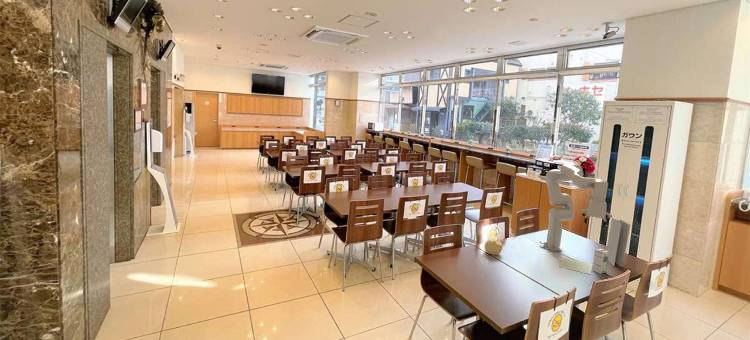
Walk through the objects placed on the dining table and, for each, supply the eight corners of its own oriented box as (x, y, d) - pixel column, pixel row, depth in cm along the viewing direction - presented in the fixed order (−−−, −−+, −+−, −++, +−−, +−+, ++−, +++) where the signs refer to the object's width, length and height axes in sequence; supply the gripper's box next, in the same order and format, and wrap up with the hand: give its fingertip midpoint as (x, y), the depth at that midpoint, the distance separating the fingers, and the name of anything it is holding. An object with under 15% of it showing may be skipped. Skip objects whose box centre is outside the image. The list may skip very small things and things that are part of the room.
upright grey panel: (622, 267, 243) (630, 224, 238) (613, 266, 244) (621, 223, 239) (613, 259, 257) (620, 218, 252) (605, 258, 258) (611, 218, 253)
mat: (559, 266, 238) (559, 266, 238) (563, 257, 254) (563, 257, 254) (590, 274, 228) (590, 274, 228) (592, 264, 245) (592, 264, 245)
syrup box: (600, 273, 230) (604, 252, 228) (591, 270, 236) (595, 249, 233) (606, 272, 233) (609, 251, 231) (596, 268, 238) (600, 248, 236)
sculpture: (503, 257, 249) (504, 242, 247) (485, 255, 250) (486, 240, 249) (500, 251, 260) (501, 237, 258) (483, 249, 262) (484, 235, 260)
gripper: (582, 198, 230) (578, 223, 233) (614, 203, 221) (610, 229, 223) (583, 196, 236) (579, 221, 239) (614, 200, 227) (610, 226, 229)
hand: (594, 225), depth 231 cm, fingers open, 9 cm apart
